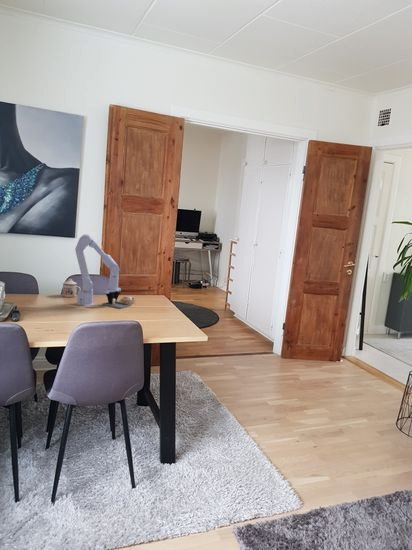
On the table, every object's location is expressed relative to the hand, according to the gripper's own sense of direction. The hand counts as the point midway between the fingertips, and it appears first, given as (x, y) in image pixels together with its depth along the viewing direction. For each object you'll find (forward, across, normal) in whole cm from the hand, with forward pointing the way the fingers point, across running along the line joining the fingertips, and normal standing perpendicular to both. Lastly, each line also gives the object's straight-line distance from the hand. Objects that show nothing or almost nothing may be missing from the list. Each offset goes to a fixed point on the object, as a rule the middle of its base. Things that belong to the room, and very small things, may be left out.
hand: (112, 303), depth 272 cm
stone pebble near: (+1, 0, 0) cm, 1 cm away
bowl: (+1, +13, -4) cm, 14 cm away
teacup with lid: (+2, +2, +34) cm, 35 cm away
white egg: (+1, +12, -5) cm, 13 cm away
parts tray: (+1, 0, -4) cm, 4 cm away
